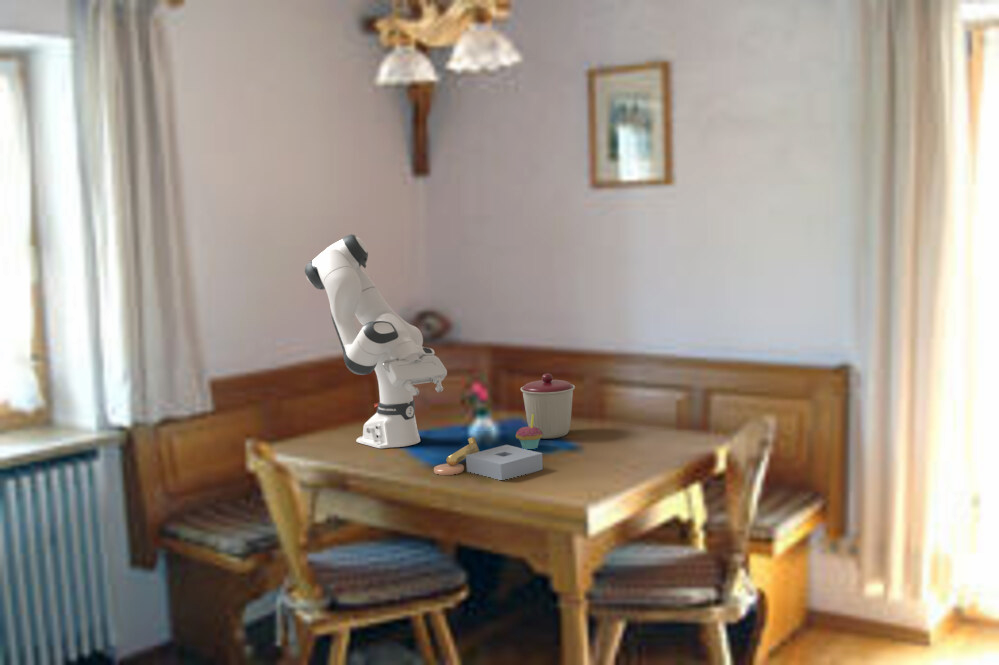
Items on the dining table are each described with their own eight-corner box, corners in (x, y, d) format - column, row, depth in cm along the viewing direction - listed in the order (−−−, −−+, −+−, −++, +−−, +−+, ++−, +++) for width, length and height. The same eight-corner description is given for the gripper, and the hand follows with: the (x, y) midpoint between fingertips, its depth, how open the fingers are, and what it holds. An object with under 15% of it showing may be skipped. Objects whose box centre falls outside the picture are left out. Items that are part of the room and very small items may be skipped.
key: (443, 452, 311) (467, 438, 326) (449, 471, 311) (474, 456, 326) (452, 450, 310) (476, 436, 325) (458, 469, 310) (482, 454, 325)
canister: (577, 428, 356) (575, 368, 353) (575, 441, 338) (573, 377, 335) (525, 429, 358) (522, 369, 355) (520, 442, 340) (517, 379, 337)
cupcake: (547, 446, 334) (546, 409, 332) (535, 452, 327) (533, 415, 325) (524, 444, 338) (522, 407, 337) (511, 450, 331) (509, 413, 329)
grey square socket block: (466, 471, 309) (466, 455, 308) (507, 460, 319) (506, 444, 318) (501, 481, 296) (500, 464, 296) (542, 469, 307) (542, 453, 306)
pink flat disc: (427, 473, 309) (427, 469, 309) (447, 465, 316) (447, 462, 316) (450, 477, 303) (450, 473, 303) (470, 469, 311) (469, 465, 310)
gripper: (384, 354, 310) (406, 389, 303) (437, 348, 324) (458, 382, 318) (376, 367, 313) (397, 403, 307) (428, 361, 327) (449, 395, 321)
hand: (428, 392), depth 312 cm, fingers open, 8 cm apart
